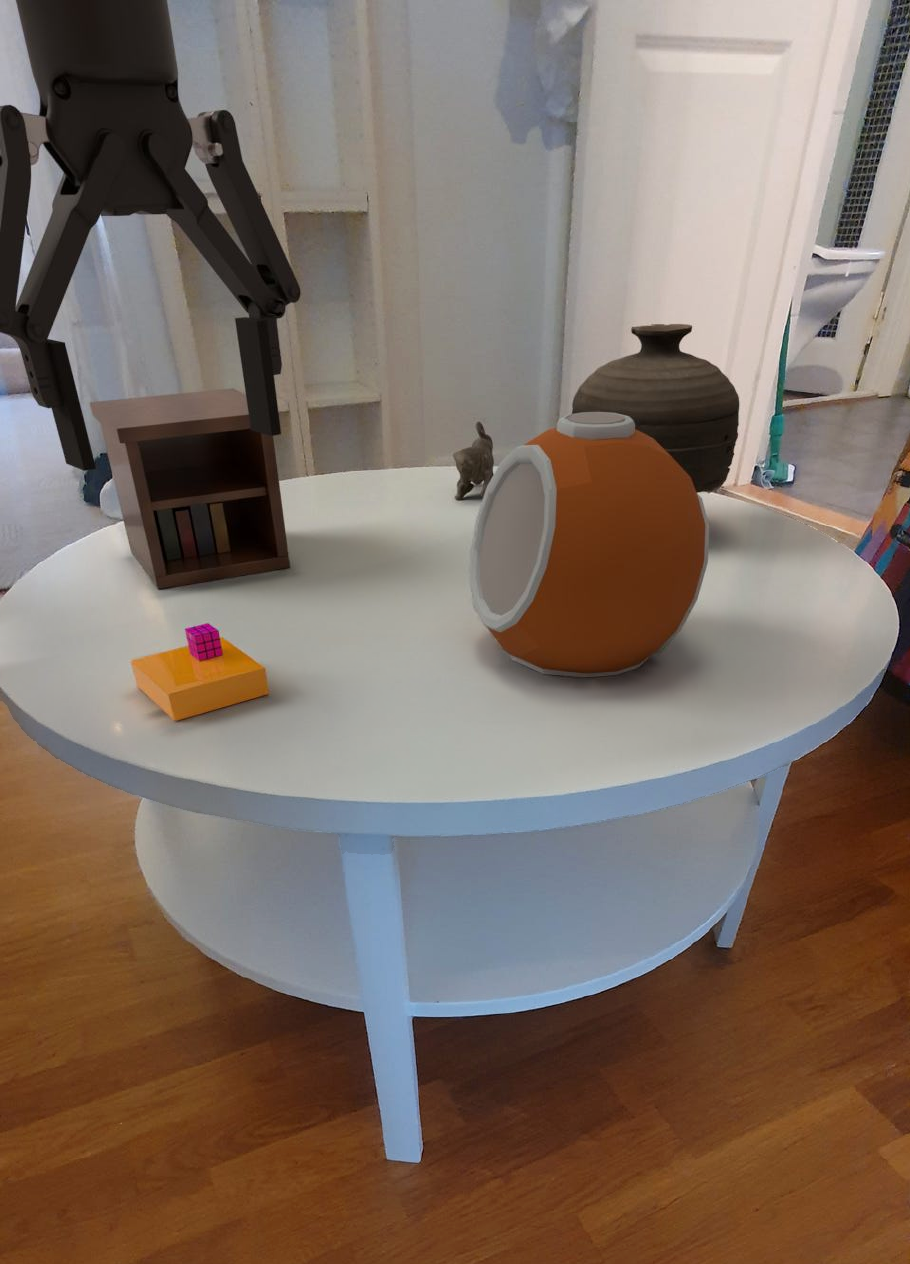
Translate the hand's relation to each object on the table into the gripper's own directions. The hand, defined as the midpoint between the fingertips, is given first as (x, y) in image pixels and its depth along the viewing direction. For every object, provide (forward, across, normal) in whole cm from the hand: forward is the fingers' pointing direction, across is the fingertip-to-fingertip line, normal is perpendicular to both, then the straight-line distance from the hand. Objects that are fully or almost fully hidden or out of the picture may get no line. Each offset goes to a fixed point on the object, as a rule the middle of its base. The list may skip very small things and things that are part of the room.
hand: (178, 449), depth 60 cm
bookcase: (+18, +17, +32) cm, 41 cm away
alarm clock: (+18, +28, -12) cm, 35 cm away
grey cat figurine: (+18, +55, +31) cm, 66 cm away
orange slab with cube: (+18, 0, +3) cm, 18 cm away
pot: (+18, +57, +6) cm, 60 cm away
